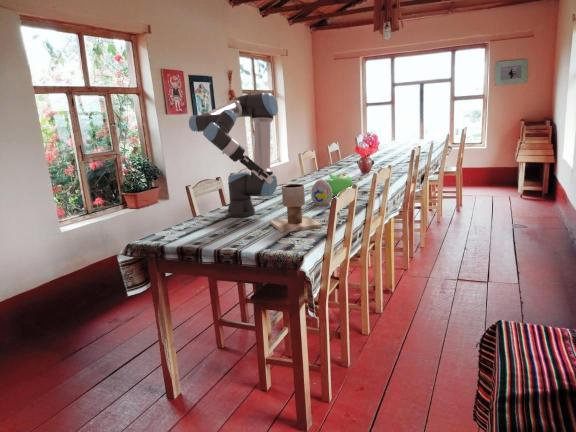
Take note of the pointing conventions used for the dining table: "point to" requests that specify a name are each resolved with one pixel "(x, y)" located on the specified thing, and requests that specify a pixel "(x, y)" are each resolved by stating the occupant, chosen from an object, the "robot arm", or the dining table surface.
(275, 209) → the dining table surface
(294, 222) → the square base plate
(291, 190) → the planter
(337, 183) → the toy bird
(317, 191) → the decorative egg
